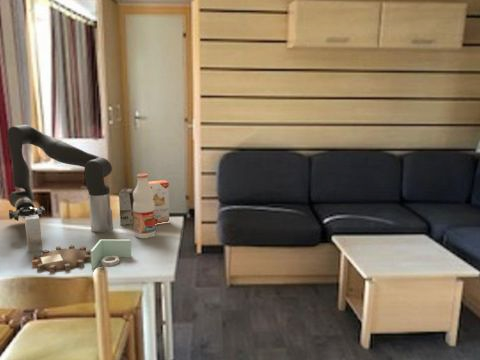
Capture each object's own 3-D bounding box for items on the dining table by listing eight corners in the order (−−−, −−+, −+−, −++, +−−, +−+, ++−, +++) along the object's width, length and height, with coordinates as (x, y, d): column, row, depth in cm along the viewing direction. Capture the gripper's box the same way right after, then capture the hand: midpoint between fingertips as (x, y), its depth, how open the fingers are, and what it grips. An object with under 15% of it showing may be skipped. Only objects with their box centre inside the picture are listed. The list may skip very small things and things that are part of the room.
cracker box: (142, 228, 211) (140, 185, 206) (138, 224, 216) (136, 182, 211) (170, 223, 217) (168, 181, 213) (165, 220, 222) (164, 179, 218)
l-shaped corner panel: (91, 269, 166) (90, 250, 164) (101, 257, 178) (100, 239, 176) (124, 270, 166) (123, 251, 165) (131, 257, 178) (130, 239, 176)
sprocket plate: (85, 246, 187) (85, 242, 187) (98, 264, 169) (97, 259, 169) (29, 256, 176) (28, 251, 176) (36, 277, 158) (35, 271, 158)
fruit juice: (139, 230, 207) (137, 171, 200) (159, 232, 205) (156, 172, 198) (130, 237, 198) (127, 176, 191) (150, 239, 196) (148, 177, 189)
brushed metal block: (40, 246, 186) (37, 214, 183) (42, 250, 182) (39, 218, 179) (27, 249, 184) (24, 216, 181) (29, 253, 180) (25, 220, 177)
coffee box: (133, 224, 215) (132, 192, 211) (120, 225, 214) (118, 192, 211) (136, 219, 224) (134, 188, 220) (123, 219, 223) (121, 188, 220)
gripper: (6, 201, 199) (9, 211, 186) (41, 197, 206) (46, 206, 193) (8, 217, 201) (10, 228, 187) (42, 213, 208) (47, 223, 194)
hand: (28, 217), depth 190 cm, fingers open, 8 cm apart
